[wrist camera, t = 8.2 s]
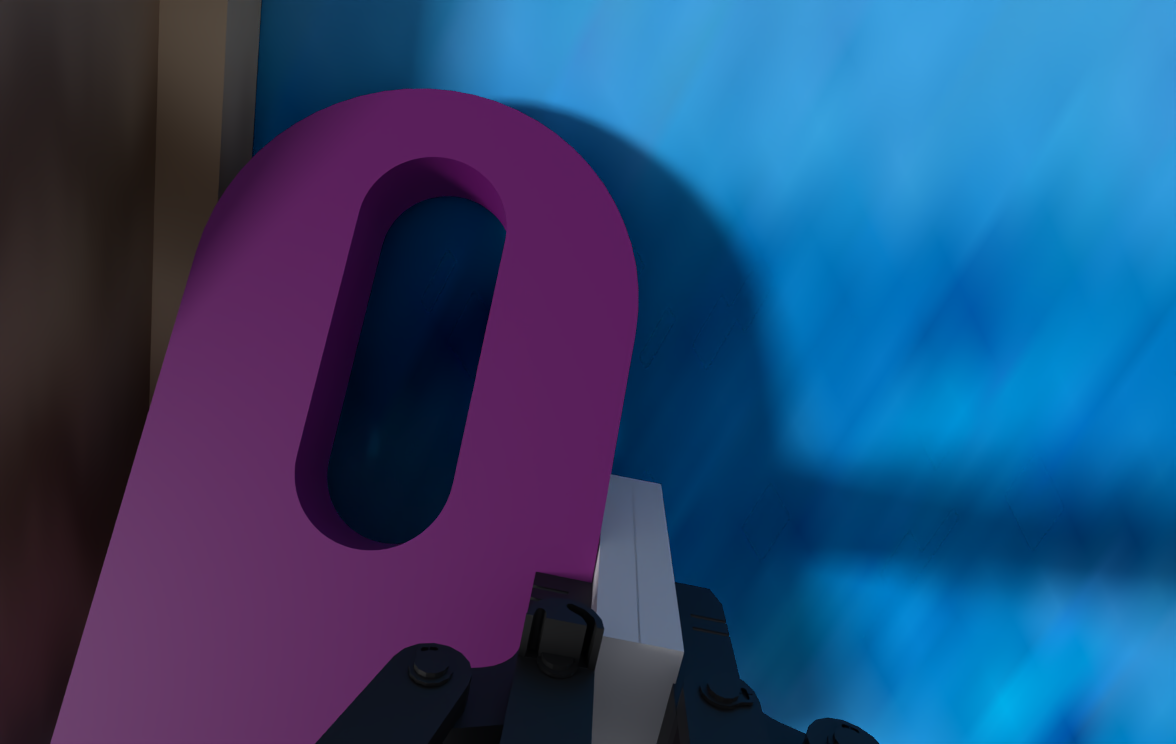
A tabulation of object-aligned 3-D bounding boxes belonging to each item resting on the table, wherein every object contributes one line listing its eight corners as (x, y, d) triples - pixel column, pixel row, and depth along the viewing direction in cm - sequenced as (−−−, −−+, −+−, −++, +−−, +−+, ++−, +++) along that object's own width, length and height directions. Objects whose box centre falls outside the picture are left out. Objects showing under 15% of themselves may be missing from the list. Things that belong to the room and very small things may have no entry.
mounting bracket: (359, 204, 24) (210, 773, 21) (255, 52, 16) (-16, 954, 13) (633, 258, 24) (527, 832, 21) (673, 134, 16) (508, 1051, 13)
